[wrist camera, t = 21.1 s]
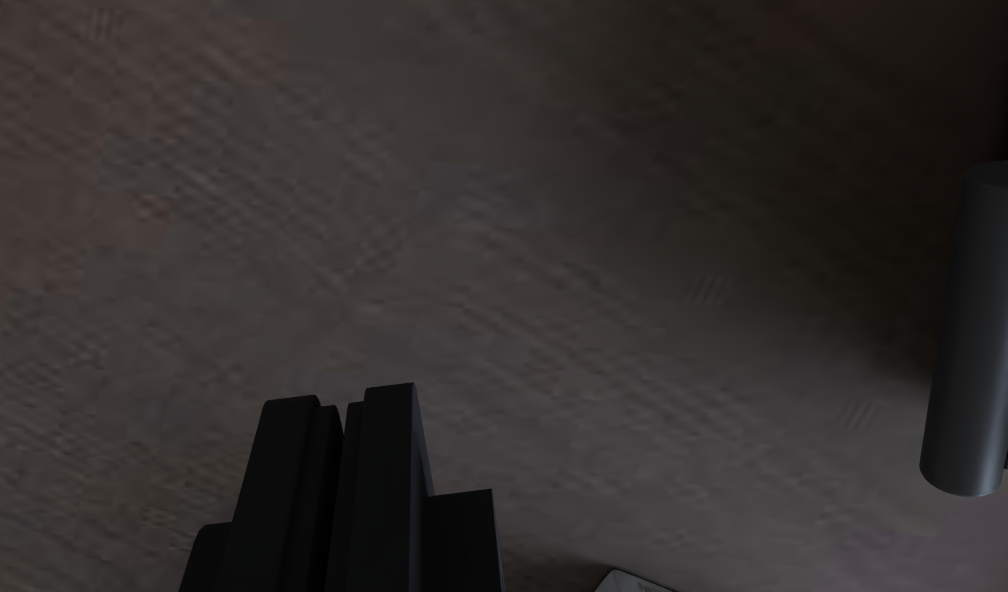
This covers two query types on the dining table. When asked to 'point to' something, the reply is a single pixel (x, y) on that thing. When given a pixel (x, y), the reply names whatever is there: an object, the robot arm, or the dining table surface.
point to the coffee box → (627, 584)
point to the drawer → (972, 346)
